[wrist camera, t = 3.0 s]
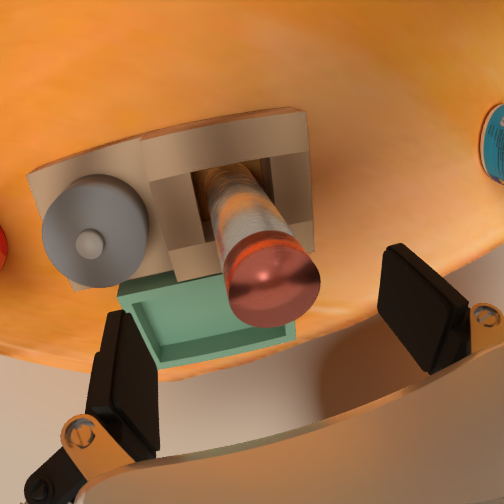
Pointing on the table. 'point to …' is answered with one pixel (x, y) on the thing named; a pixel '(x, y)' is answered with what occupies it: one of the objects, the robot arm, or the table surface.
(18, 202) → the table surface
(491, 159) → the beverage bottle
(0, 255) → the paper cup
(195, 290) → the tray
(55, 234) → the block
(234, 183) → the pin
